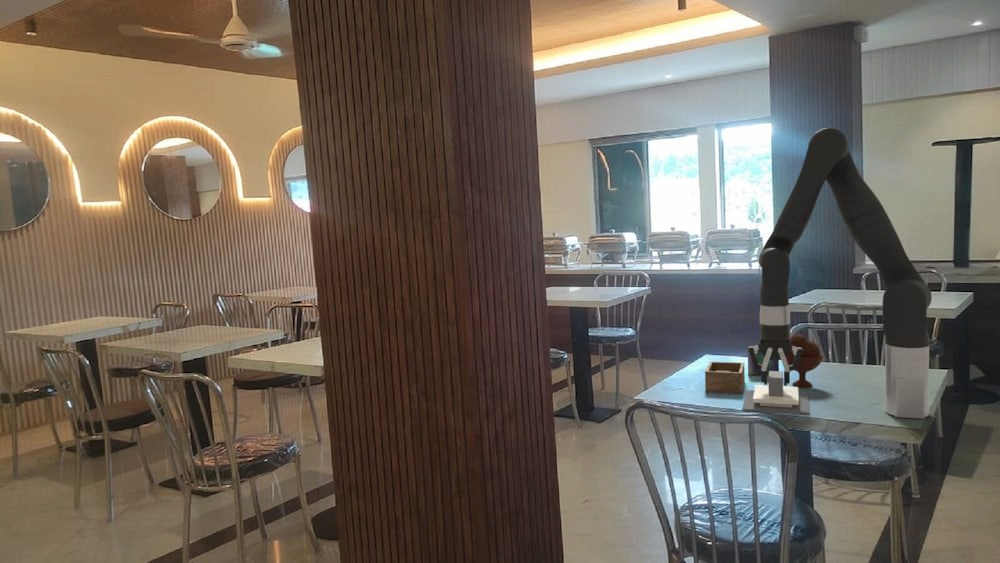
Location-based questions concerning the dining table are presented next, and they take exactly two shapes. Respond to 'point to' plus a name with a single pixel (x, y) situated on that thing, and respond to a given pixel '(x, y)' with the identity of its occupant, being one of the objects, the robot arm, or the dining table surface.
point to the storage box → (725, 377)
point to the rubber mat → (797, 409)
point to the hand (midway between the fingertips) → (775, 384)
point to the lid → (776, 392)
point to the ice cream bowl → (804, 358)
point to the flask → (772, 364)
